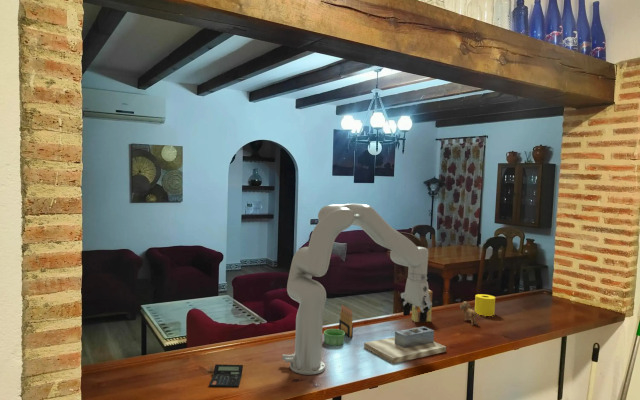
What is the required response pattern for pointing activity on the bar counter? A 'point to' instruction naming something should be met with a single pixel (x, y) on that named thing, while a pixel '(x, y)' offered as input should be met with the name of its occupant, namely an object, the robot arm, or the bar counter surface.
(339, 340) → the ramekin
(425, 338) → the grey rectangular block
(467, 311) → the lion figurine
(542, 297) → the bar counter surface
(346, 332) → the ammunition clip
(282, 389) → the bar counter surface
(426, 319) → the robot arm
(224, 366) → the calculator
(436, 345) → the board
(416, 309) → the candy box
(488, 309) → the yellow cylinder
